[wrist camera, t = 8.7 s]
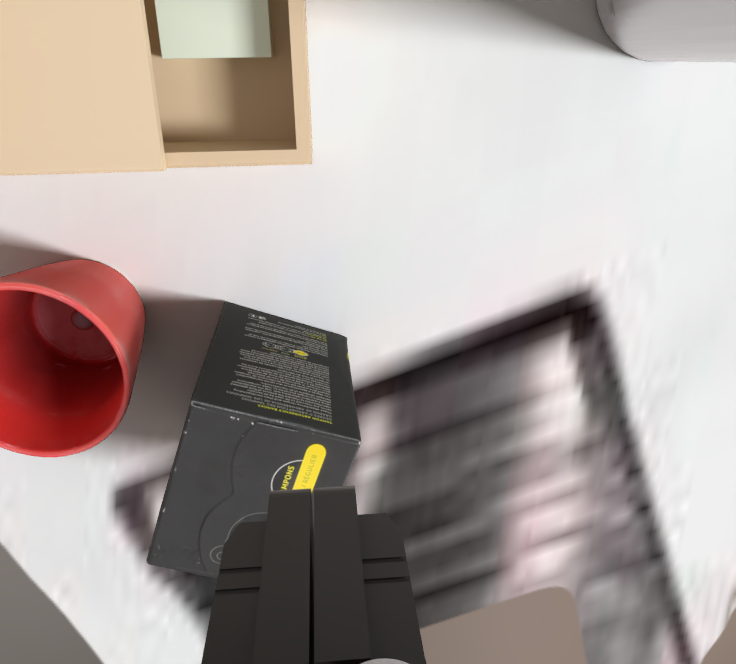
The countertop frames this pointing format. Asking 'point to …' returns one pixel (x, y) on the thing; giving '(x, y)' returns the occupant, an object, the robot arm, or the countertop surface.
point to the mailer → (231, 81)
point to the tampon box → (255, 433)
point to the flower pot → (66, 356)
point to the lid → (77, 88)
